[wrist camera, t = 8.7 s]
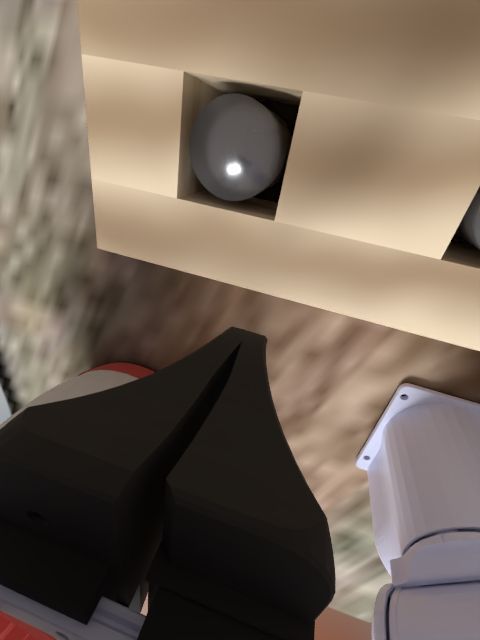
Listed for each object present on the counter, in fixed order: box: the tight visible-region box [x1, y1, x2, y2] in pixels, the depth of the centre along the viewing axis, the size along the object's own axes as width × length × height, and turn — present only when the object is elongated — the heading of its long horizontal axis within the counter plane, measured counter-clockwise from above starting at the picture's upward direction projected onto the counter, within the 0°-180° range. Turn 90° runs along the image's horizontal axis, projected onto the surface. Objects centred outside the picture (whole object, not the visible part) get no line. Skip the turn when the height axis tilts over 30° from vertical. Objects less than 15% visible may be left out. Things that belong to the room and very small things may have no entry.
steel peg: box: [189, 93, 292, 201], centre depth 15 cm, size 4×4×5 cm
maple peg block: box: [77, 0, 480, 351], centre depth 14 cm, size 12×26×5 cm, turn 80°
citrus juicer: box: [0, 362, 155, 640], centre depth 22 cm, size 16×17×20 cm
